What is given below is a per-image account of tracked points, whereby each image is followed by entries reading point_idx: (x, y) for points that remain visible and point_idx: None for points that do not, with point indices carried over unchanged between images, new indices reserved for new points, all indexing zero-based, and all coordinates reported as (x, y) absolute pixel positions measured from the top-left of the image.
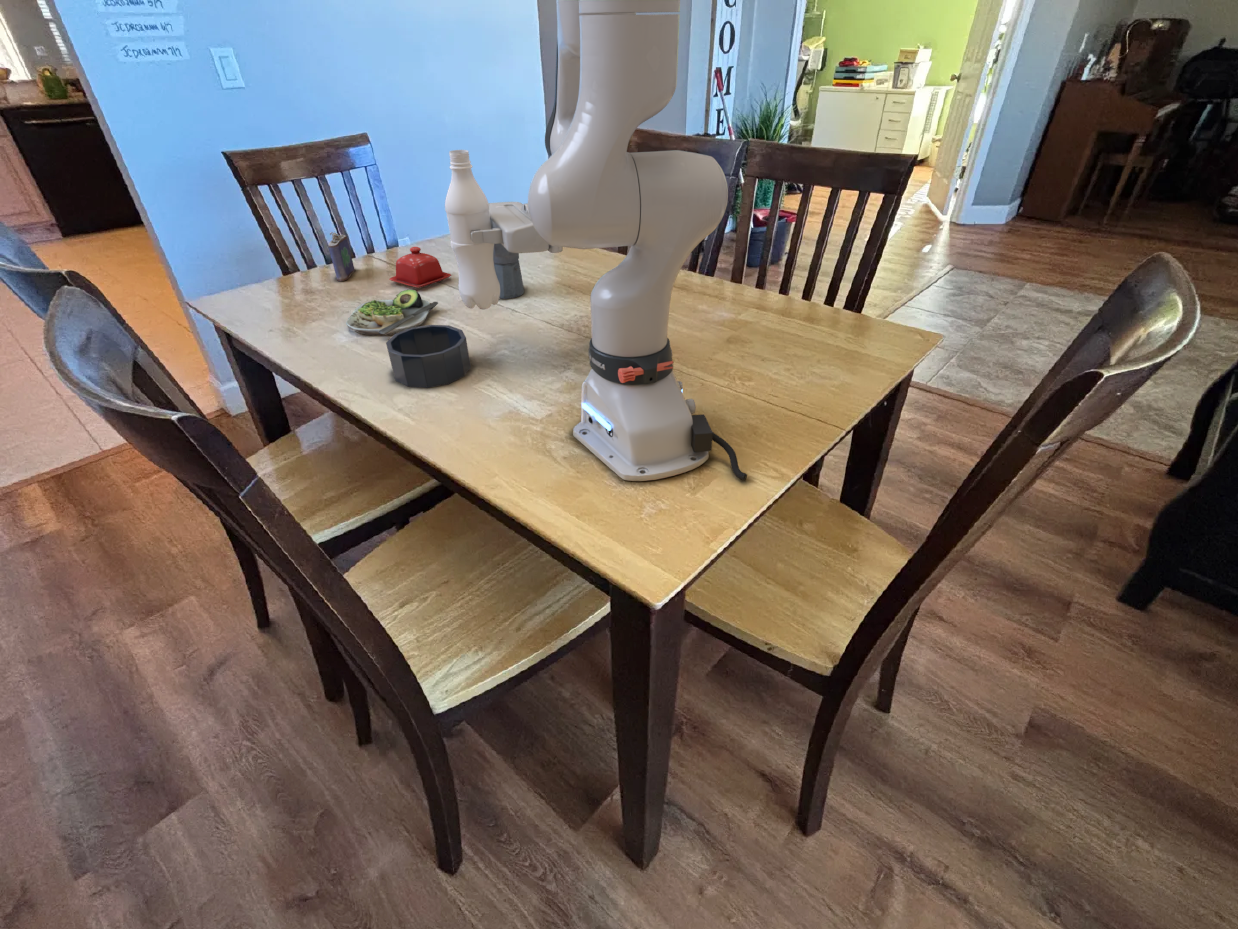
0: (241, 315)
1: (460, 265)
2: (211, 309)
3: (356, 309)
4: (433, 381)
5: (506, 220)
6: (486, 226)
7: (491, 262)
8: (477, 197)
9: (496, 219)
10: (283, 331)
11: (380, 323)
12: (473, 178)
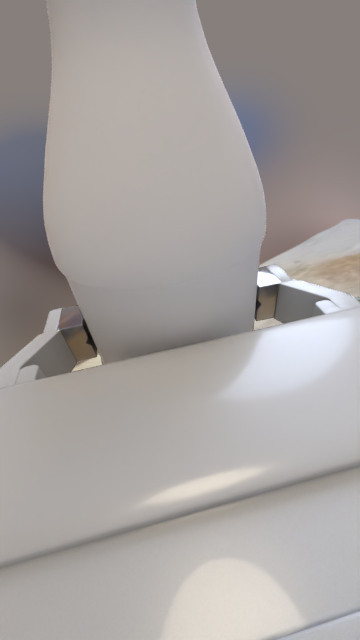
0: (329, 240)
1: None
2: (337, 226)
3: (357, 298)
4: None
5: (36, 422)
6: (103, 341)
7: None
8: (51, 190)
9: (111, 364)
10: (296, 268)
11: None
12: (82, 37)
